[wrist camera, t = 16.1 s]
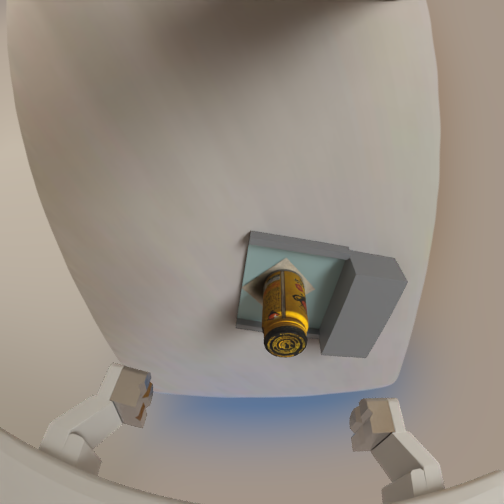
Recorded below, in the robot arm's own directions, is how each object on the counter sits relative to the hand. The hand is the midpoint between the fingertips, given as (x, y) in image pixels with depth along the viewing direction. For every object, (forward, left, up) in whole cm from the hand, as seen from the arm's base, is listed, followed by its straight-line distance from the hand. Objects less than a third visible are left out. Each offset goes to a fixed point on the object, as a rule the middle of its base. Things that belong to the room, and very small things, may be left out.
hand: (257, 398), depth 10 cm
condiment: (+18, +4, -31) cm, 36 cm away
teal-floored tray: (+18, +10, -31) cm, 37 cm away
